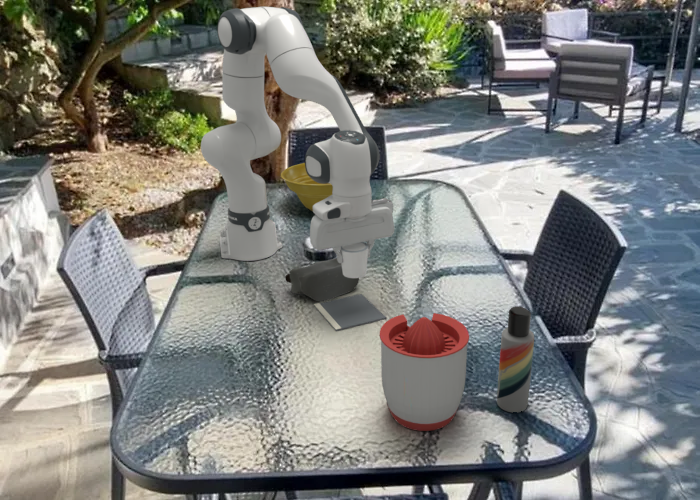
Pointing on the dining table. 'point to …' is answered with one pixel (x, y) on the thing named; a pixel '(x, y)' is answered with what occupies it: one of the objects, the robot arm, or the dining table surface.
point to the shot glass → (354, 259)
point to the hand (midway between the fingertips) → (353, 259)
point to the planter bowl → (305, 186)
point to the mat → (349, 312)
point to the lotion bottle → (515, 361)
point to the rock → (321, 280)
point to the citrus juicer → (423, 370)
